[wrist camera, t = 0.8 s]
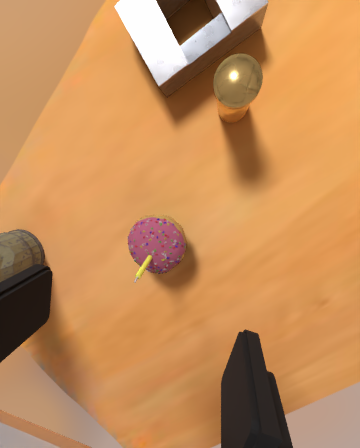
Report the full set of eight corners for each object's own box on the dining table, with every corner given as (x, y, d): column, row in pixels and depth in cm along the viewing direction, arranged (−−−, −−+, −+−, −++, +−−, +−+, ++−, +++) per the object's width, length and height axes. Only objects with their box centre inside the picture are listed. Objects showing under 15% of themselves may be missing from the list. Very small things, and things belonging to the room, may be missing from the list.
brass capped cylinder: (240, 79, 29) (248, 42, 20) (256, 112, 29) (271, 88, 21) (209, 101, 30) (204, 74, 22) (225, 131, 31) (227, 117, 22)
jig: (222, -55, 26) (222, -97, 22) (261, 27, 27) (268, 2, 23) (128, 28, 30) (114, 6, 26) (166, 97, 31) (158, 86, 27)
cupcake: (183, 265, 37) (166, 309, 25) (135, 251, 38) (98, 288, 26) (195, 216, 34) (183, 240, 23) (144, 203, 35) (107, 220, 24)
